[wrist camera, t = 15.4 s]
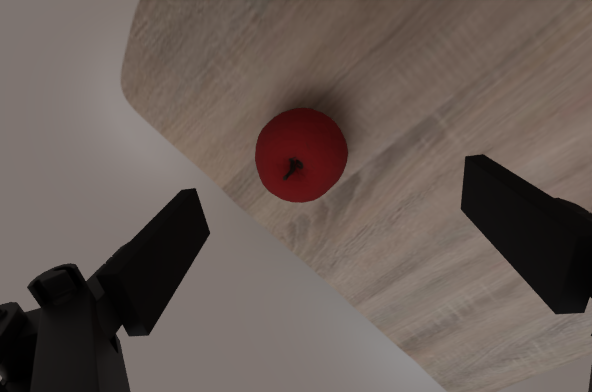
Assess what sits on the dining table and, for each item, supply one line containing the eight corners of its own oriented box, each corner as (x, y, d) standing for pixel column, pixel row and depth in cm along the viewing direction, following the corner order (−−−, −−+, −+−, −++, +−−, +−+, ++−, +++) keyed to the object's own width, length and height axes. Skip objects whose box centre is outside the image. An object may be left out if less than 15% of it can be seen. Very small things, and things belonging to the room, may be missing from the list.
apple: (320, 193, 36) (321, 240, 27) (251, 162, 35) (227, 201, 26) (358, 123, 32) (374, 151, 23) (281, 86, 31) (266, 100, 22)
